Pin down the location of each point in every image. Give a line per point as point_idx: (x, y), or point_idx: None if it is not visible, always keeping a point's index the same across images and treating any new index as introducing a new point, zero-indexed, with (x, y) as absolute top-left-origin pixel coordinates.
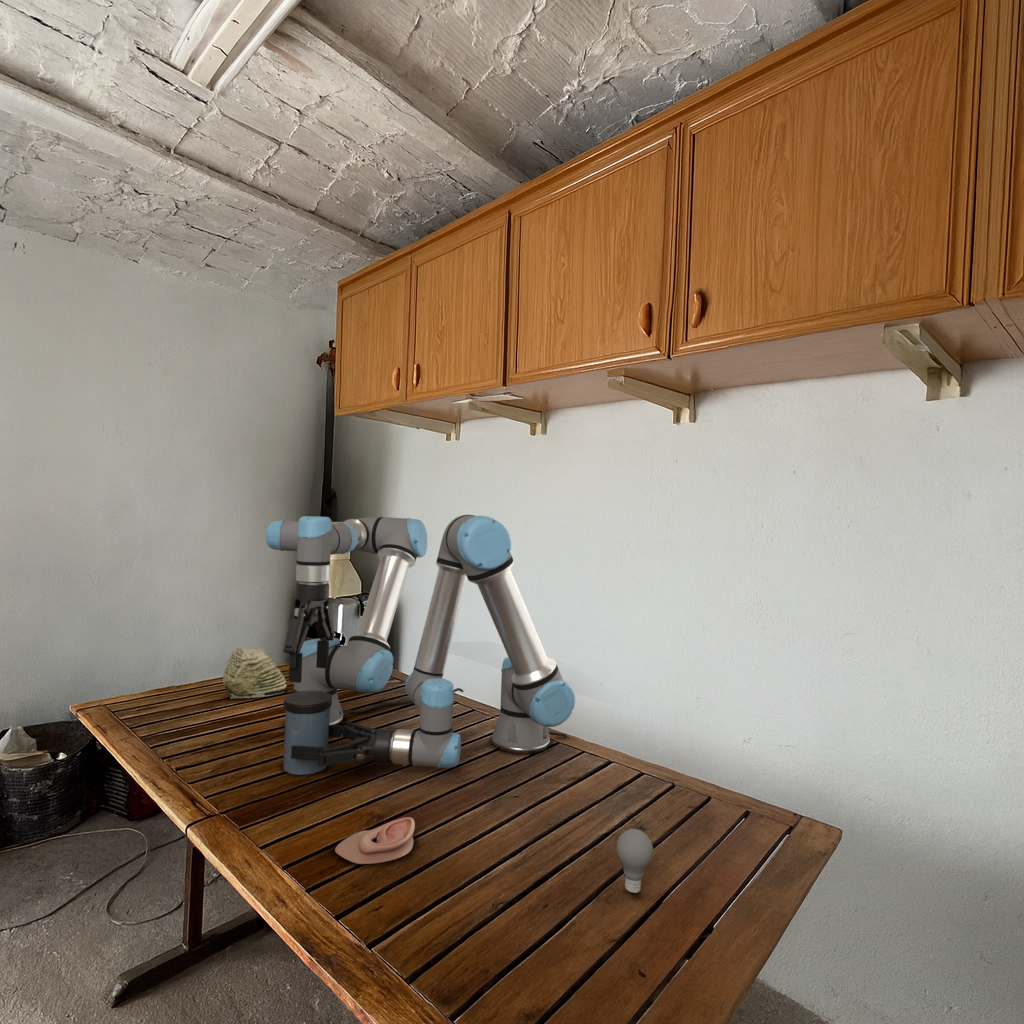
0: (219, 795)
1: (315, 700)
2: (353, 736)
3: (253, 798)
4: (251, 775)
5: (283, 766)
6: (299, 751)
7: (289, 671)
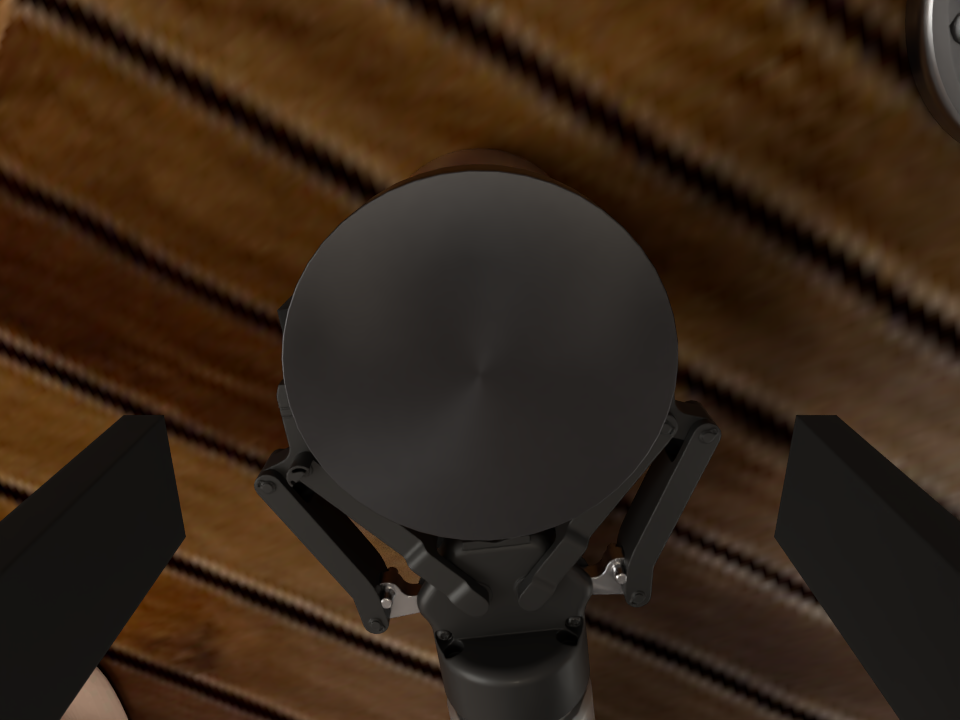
0: (70, 42)
1: (427, 460)
2: None
3: (118, 210)
4: (301, 59)
5: (412, 174)
6: None
7: (53, 484)
